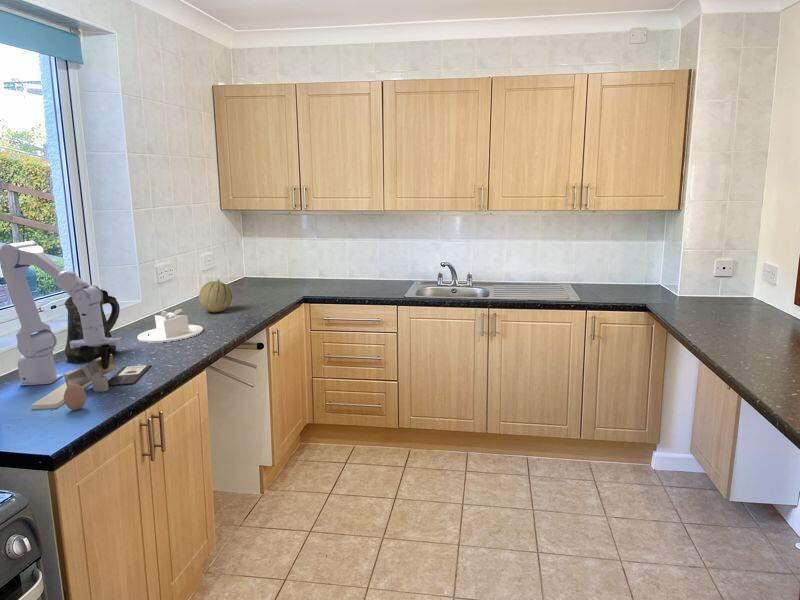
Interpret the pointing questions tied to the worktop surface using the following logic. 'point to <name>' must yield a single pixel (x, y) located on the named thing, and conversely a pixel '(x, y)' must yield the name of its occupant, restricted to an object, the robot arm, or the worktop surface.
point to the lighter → (96, 379)
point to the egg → (74, 397)
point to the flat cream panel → (53, 398)
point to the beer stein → (77, 332)
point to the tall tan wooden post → (79, 376)
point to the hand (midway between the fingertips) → (99, 368)
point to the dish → (170, 328)
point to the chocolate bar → (128, 375)
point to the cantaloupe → (215, 296)
